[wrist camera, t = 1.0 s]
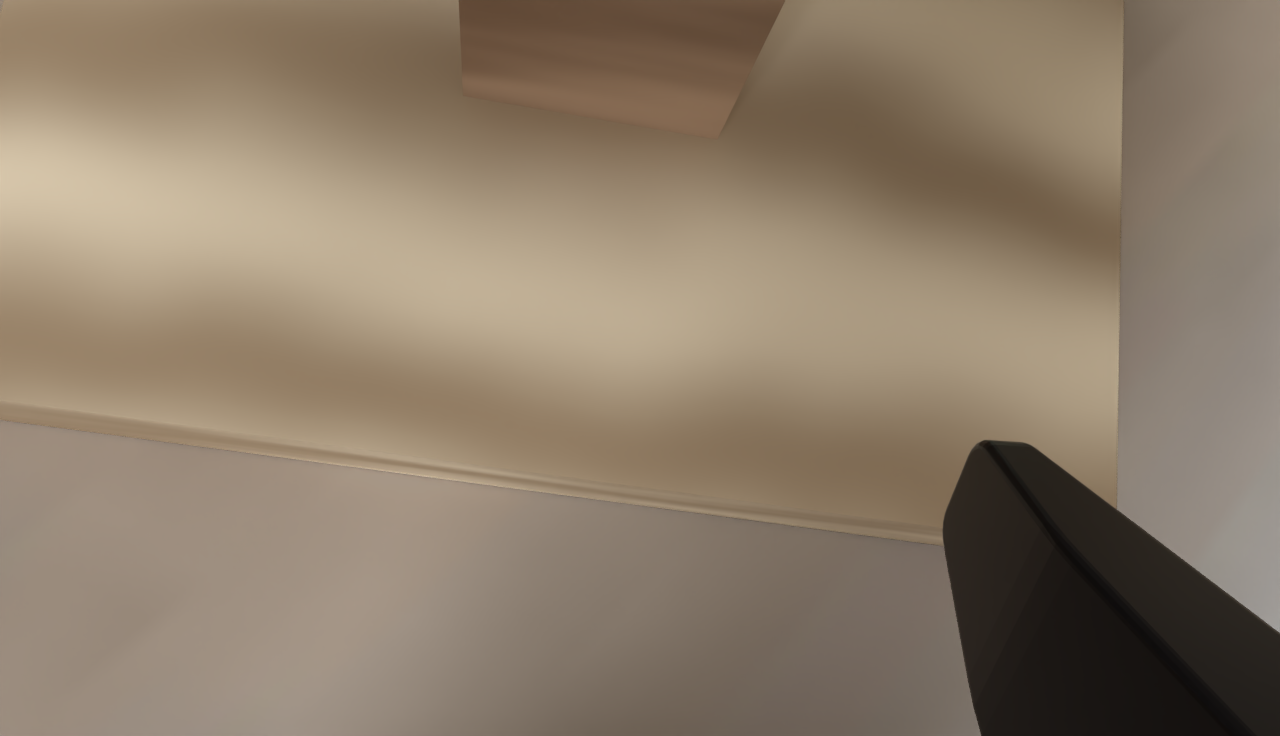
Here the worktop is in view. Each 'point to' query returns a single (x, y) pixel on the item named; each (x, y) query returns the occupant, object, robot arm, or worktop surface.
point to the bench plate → (572, 253)
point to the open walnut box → (616, 57)
